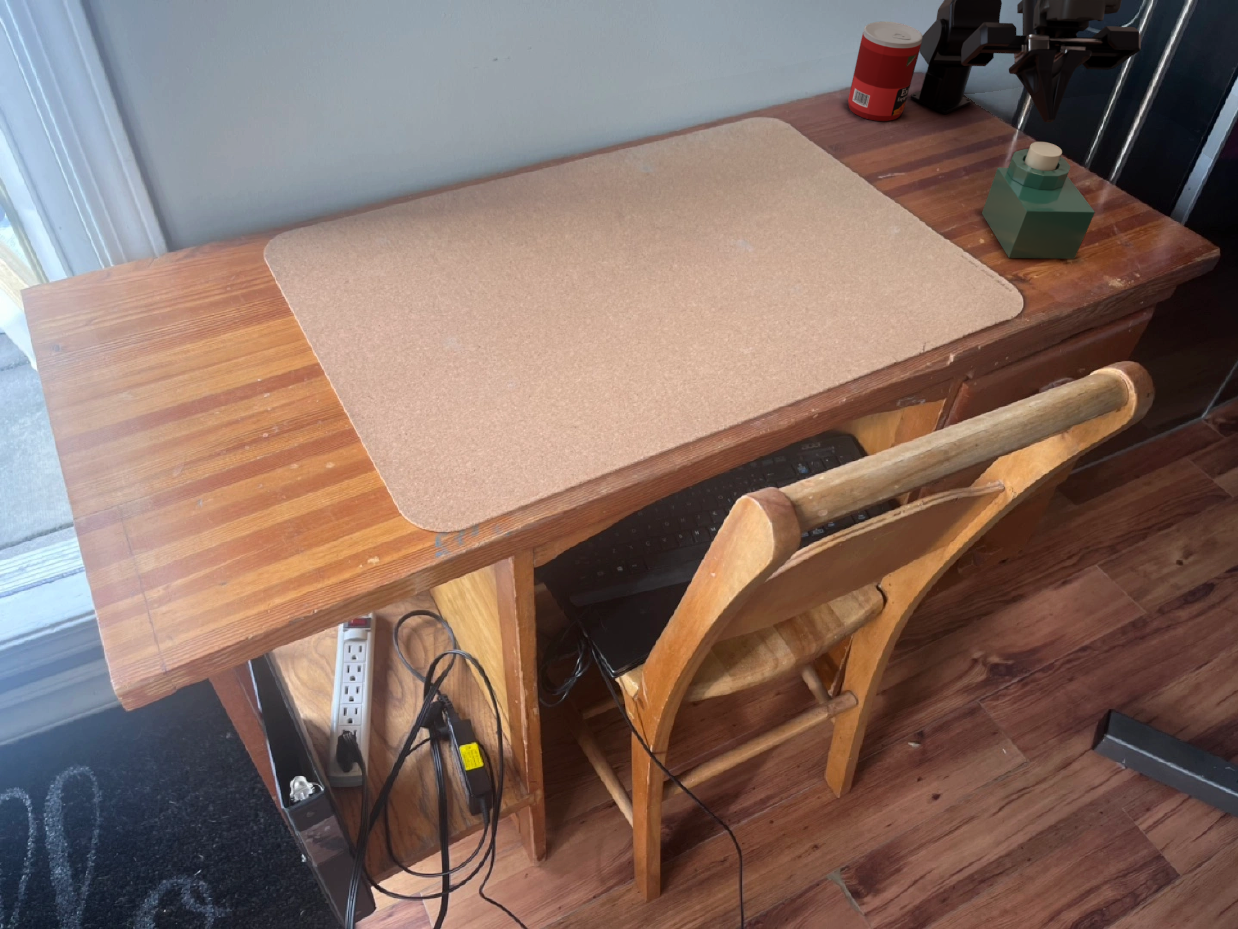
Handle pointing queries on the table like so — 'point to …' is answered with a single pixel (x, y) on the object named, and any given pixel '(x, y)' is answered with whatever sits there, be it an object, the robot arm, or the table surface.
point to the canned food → (884, 70)
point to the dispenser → (1037, 211)
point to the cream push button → (1043, 156)
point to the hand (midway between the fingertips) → (1049, 120)
